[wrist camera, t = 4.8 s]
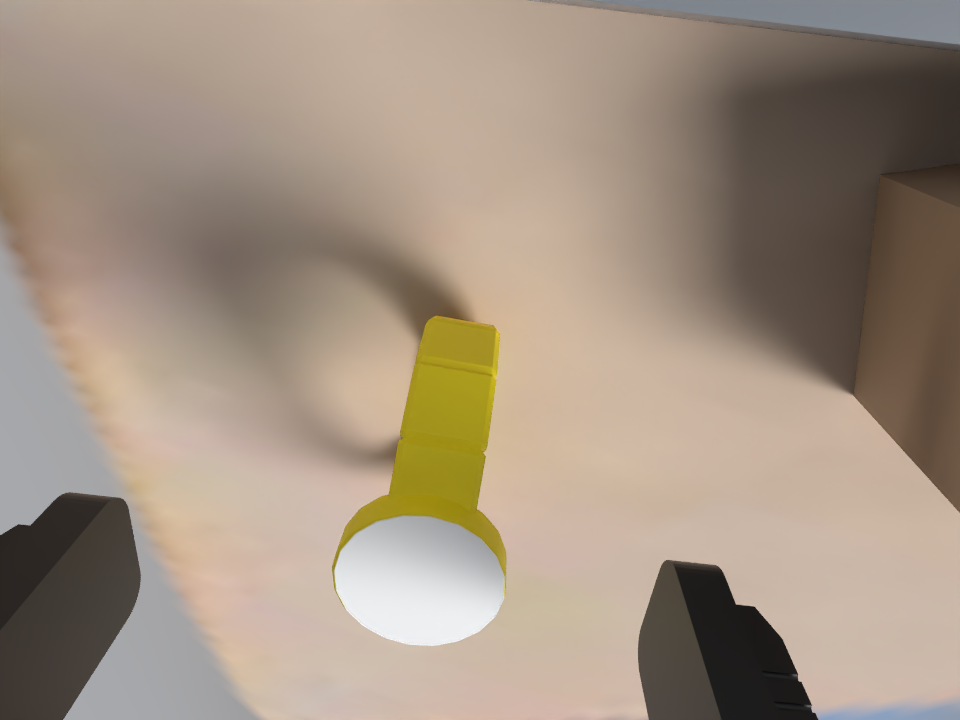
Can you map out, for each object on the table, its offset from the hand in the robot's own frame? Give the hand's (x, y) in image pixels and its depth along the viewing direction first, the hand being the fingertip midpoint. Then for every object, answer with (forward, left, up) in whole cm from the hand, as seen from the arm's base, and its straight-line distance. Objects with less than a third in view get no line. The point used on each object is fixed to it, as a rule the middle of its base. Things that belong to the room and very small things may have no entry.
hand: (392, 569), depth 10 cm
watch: (0, 0, -6) cm, 6 cm away
